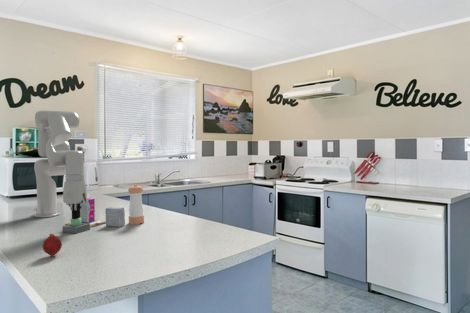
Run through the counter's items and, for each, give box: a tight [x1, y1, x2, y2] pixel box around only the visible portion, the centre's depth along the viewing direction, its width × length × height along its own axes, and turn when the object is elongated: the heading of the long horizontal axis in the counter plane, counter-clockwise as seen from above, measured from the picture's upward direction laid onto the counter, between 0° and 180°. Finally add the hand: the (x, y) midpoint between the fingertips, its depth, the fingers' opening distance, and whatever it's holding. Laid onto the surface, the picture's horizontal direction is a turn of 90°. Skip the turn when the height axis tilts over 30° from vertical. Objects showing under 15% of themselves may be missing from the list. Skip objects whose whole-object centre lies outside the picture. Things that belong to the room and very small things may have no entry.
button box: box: [61, 223, 91, 234], centre depth 155 cm, size 8×8×2 cm
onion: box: [42, 233, 63, 257], centre depth 119 cm, size 6×6×8 cm
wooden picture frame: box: [64, 220, 106, 229], centre depth 168 cm, size 16×11×1 cm
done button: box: [70, 217, 82, 227], centre depth 155 cm, size 4×4×5 cm
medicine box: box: [104, 206, 126, 228], centre depth 164 cm, size 8×4×9 cm, turn 71°
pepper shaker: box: [127, 183, 145, 225], centre depth 169 cm, size 7×7×19 cm
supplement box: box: [80, 197, 96, 223], centre depth 168 cm, size 6×6×12 cm
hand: (76, 218), depth 155 cm, fingers closed
